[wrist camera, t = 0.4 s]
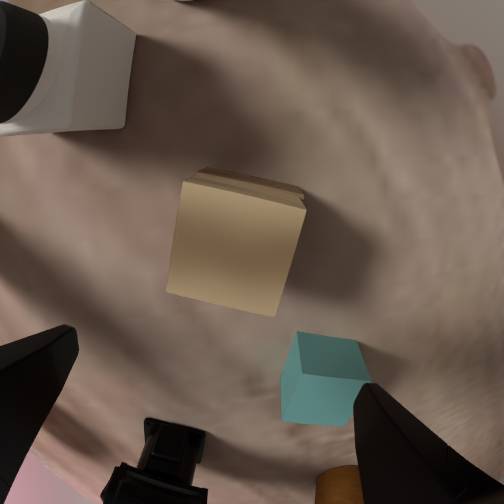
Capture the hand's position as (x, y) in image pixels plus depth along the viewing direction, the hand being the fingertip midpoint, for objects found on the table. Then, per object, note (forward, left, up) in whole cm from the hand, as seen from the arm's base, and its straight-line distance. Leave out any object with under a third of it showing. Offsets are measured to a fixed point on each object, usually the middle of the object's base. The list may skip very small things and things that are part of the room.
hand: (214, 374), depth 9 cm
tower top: (+1, 0, -10) cm, 10 cm away
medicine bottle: (+9, +13, -14) cm, 21 cm away
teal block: (-9, -8, -13) cm, 18 cm away
